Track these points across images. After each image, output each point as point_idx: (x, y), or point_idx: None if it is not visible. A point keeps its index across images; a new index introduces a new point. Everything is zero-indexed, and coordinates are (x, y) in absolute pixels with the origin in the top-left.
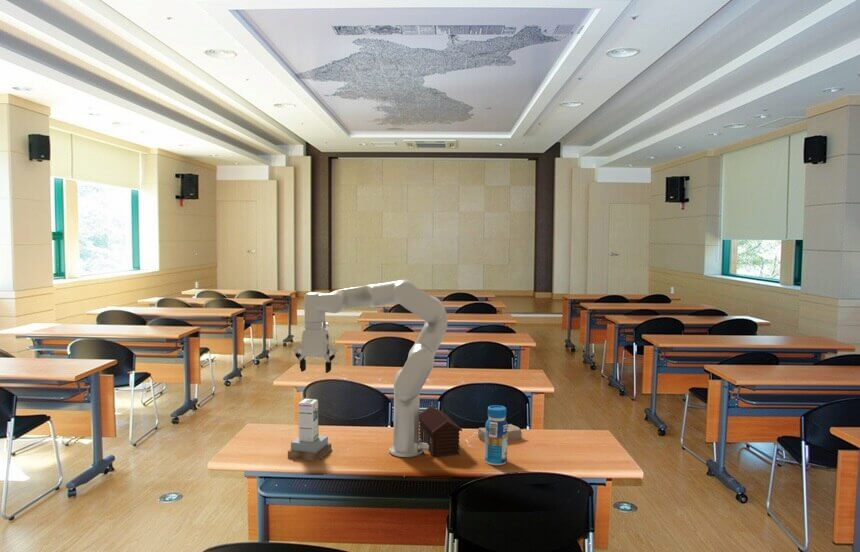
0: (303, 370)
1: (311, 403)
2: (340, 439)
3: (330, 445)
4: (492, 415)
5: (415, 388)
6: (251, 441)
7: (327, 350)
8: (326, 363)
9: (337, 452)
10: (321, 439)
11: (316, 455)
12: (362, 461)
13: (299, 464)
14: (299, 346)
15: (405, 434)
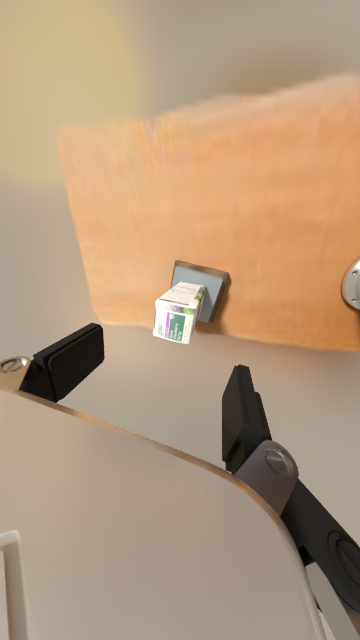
0: (102, 354)
1: (185, 342)
2: (243, 214)
3: (227, 277)
4: None
5: None
6: (97, 243)
7: (250, 593)
8: (230, 461)
9: (239, 286)
10: (213, 297)
11: (209, 321)
12: (280, 322)
13: None
14: None
15: None
